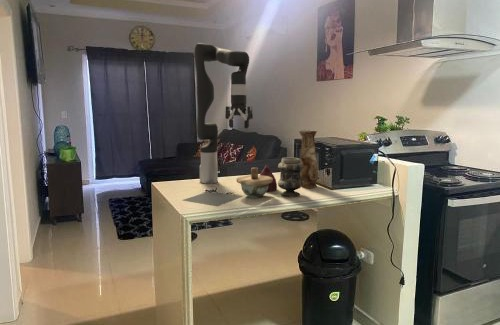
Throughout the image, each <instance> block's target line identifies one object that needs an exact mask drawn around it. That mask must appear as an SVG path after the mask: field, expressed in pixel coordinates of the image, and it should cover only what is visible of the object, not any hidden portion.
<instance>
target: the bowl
mask: <svg viewBox="0 0 500 325" xmlns="http://www.w3.org/2000/svg"><path fill="white" fill-rule="evenodd" d="M240 186H241V190H242V192H243V194H244V195H245V196H247V197H248V198H251V199H259V198H262V197H263V196H264V195H266V193H268V192H267V190H268V186H269V184H264V185H245V184H240Z"/></svg>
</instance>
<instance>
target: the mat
mask: <svg viewBox="0 0 500 325" xmlns="http://www.w3.org/2000/svg"><path fill="white" fill-rule="evenodd" d="M215 192H216V191H215ZM243 197H244V196H243V195H236V194H230V193H224V192H223V193H221V192H216V193H209V192H208V191H206V192H203V193H201V194H200V193H199V194H197V195H194V196H191V197H188V198H185V199H182V201H183V202H189V203H194V204H195V203H196V204H201V205H207V206H208V205H209V206H214V207H219V206H222V205H225V204H227V203H229V202H232V201H235V200H238V199H240V198H243Z"/></svg>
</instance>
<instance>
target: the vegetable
mask: <svg viewBox="0 0 500 325" xmlns="http://www.w3.org/2000/svg"><path fill="white" fill-rule="evenodd" d="M259 175H263V176H269V177H272V178H273V182H272V183H269V186H268V190H267V192H266V193H272V192H275V191H277V190H278V182H277V179H276V178H275V175H274V174H273V173H272V169H270V166H269V165H268V164H265V166H264V168H263V170H262V171H261V172H260V173H259Z"/></svg>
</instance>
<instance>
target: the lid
mask: <svg viewBox="0 0 500 325" xmlns="http://www.w3.org/2000/svg"><path fill="white" fill-rule="evenodd" d="M250 174H251V175H250ZM250 174H249V175H241V176H238V177H236V183H237V184H240V185H241V184H245V185H264V184H269V183H272V182H273V178H272V177H269V176H263V175H260V174H259V168H258V167H251V169H250Z"/></svg>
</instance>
